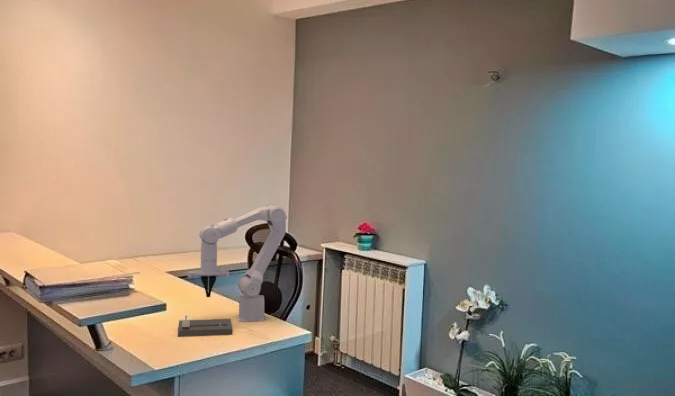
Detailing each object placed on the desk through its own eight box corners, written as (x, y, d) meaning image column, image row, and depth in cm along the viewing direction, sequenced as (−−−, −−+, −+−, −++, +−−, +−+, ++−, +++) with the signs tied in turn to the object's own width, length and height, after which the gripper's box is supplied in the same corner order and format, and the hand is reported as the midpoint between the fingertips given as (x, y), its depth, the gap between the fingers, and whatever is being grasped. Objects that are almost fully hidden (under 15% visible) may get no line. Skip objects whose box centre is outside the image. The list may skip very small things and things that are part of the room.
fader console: (230, 324, 213) (230, 318, 213) (232, 334, 202) (232, 328, 201) (179, 326, 209) (179, 320, 209) (177, 336, 197) (177, 330, 197)
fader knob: (189, 322, 205) (189, 315, 205) (189, 327, 201) (189, 319, 200) (182, 322, 205) (182, 315, 205) (182, 327, 200) (182, 319, 200)
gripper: (228, 257, 219) (227, 293, 220) (188, 257, 216) (187, 294, 217) (229, 261, 212) (228, 298, 213) (188, 261, 209) (187, 299, 210)
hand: (208, 296), depth 215 cm, fingers closed
